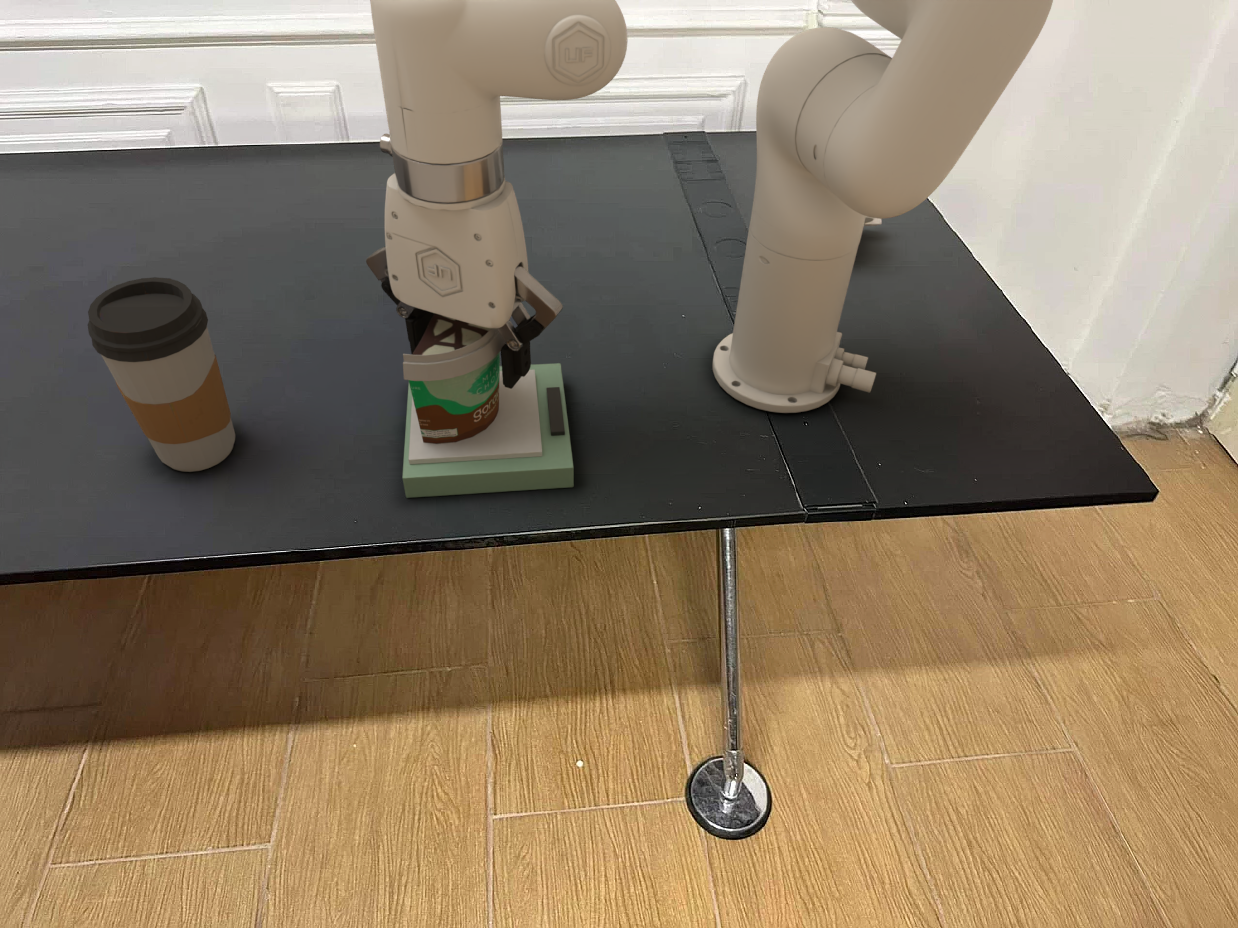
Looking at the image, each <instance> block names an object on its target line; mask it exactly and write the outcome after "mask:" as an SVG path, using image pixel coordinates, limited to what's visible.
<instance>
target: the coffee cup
mask: <svg viewBox="0 0 1238 928" xmlns="http://www.w3.org/2000/svg"><path fill="white" fill-rule="evenodd" d="M87 314H88V321H87V322H88V323H87V331H88V335H89V337H90V338H91V344H92V348H94V350H95V351H96V352H97V354H99V355H100V356H101V357H102V359H103V361H104V363H105V365H106V366H107V368H108V370H109V372H110V374H111V376H112V377H113V379H114V381H115V384H116V387H117V389H118V390H119V392H120V394H121V396H122V398H123V399H124V401H125V403H126V404H127V406H128V408H129V410H130V411H131V413H132V415H133V417H134V419H135V420H136V422H137V424H138V425H139V427H140V429H141V431H142V433H143V434H144V435H145V437H146V438H147V440H148V441H149V443H150V445H151V447H152V448H153V450H154V452H155V454H156V455H157V457H158V459H159V460H160V461H161V463H163V464H165V465H166V466H168V467H169V468H171V469H173V470H175V471H179V472H189V473H192V472H200V471H203V470H207V469H209V468H212V467H214V466H216V465H218V464H220V463H221V462H223V461H224V460H225V459H226V458H227V457H228V456H229V455H230V454H231V452H232V450H233V449H234V444H235V441H236V433H235V429H234V424H233V420H232V417H231V409H230V404H229V401H228V398H227V394H226V390H225V386H224V381H223V378H222V374H221V371H220V366H219V362H218V359H217V355H216V354H215V352H214V349H213V348H214V347H213V345H212V344H213V343H212V341H211V337H210V332H209V329H208V322H209V319H208V314H207V312H206V310H205V309H204V307H203V305H202V301H201V300H200V299H199V298H198V296H196V295H195V294H194V293H192V291H191V289H190V288H189V287H188V286H187V284H185V283H183V282H181V281H179V280H176V279H173V278H168V277H156V276H154V277H142V278H137V279H132V280H127V281H124V282H122V283H118V284H116V285H114V286H111V287H110V288H108V289H106V290H105V291H103V292H101V293H100V294H99V295H98V296H96V297H95V299H94V300H93V301H92V302H91V304H89V308H88V311H87Z"/></svg>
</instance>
